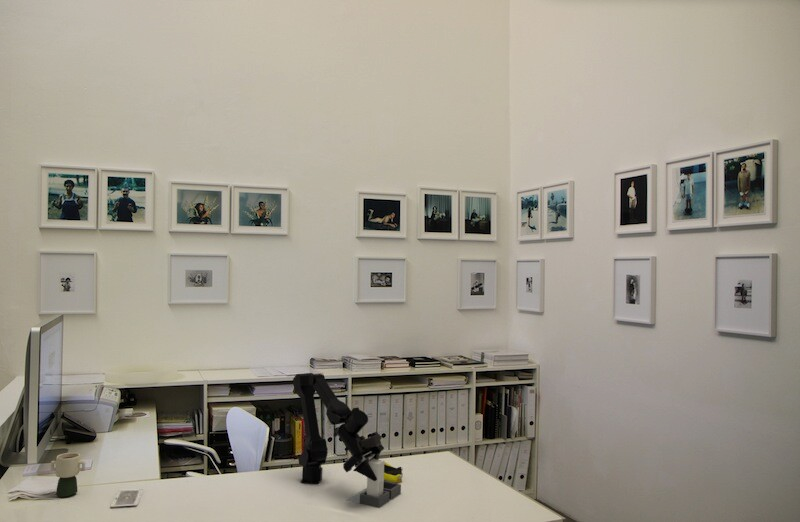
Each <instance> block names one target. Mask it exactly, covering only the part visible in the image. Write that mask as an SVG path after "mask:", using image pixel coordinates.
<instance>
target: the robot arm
mask: <svg viewBox="0 0 800 522" xmlns="http://www.w3.org/2000/svg"><path fill="white" fill-rule="evenodd" d="M292 385H293V388H294V392H295V394H297V396H298V398H300V402H301V403H300V404H301V409H302V410H301V411H302V412H301V413H302V416H303V417H302V419H303V424H304V432H305V440H304V443H303V445H302V453H301V454H300V455H299V457H298V458H297V460H298V465H300V466H302V471H301V472H302V473H301V474H302V475H301V477H302V478H301V480H300V484H301V483H302V484H311V485H312V484H313V485H318V484H319V483H320V481H322V479H323V467H322V465H323V464H326V461H327V457H328V453H329V452H328V450H329V449H328V446H327V439H325V438H323V437H322V436H321V434H320V428H319V424H318V423H319V421H318V416H317V415H318V414H317V410H316V403H315V397H314V396H315V393H316V394H317V395H318V397H319V399H320V400H321V402H322V403H323V405H324V407H325V408H326V412H325V414H326V416H327V417H326V418H327V420H328V421H329V423H330V424H331V425H332V426H333V425H334V426H335V425H339V426H337V427H335V428H333V438H337V437H339V439H340V440H341V442H342V443H343V445H344V446H345V447H344V451H345V452H349V453H350V454H351V456H350V457H349V458H348V459H347V460H345V462H343V464H342V466H343V467H342V469H343V470H344V471H345V472H346V473H348V472H351V471H352V469H353V468H354V467H355V468H354V469H353V472H357V473H358V474H360V475H362V476H365V477H366V478H367V477H368V478H370V479H371V480H373V481H376V480H377V478H376V476H375V474H374V472H373V471H372V469H371V467H370V465H369V461H371V460H373V459H377V460H380V459H379V457H380V455H381V453H382V451H384V450H385V448H384V446H383V445H382V436H381V434H380V433H379V432H378V431H373V432H372V433H370V436H369V437H367V438H366V437H365V436H364V435H360V434H359V433H360V432H361V430H362V429H363V428H364V427H365V426H366V425H367V424H368V422H369V417H368V414H366V413H365V412H364V411H362V410H361V409H360V408H359V406H358V407H353V408H352V409H350V407H349V406H348V405H347V404H346V403H345V402H343V401H342V400H339V398H338V397H337V396H336V394H335V392H334V391H333V389H332V388H331V386H330V385H329V384H328V381H327V380H326V378H325V375H324V374H323V373H314V372H307V373H306V372H305V373H297V374H295V376H294V377H293V378H292Z"/></svg>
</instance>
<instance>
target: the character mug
mask: <svg viewBox="0 0 800 522" xmlns="http://www.w3.org/2000/svg"><path fill="white" fill-rule="evenodd" d="M85 470H86V461H84V460H81V454H80V453H79V452H65V453H60V454H58V455H57V456H56V458H55V460H51V462H50V471H52V472H55V476H56V477H57V478H58V480H57V485H56V491H55V495H56V496H58V497H62V498H64V497H69V496H72V495H74V494H77V493H78V482H77V475H79V474H80V472H85Z"/></svg>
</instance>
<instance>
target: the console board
mask: <svg viewBox="0 0 800 522" xmlns="http://www.w3.org/2000/svg"><path fill="white" fill-rule="evenodd" d="M401 494H402V484H400V483H398V484H396V483H391V482H386V481H384V484H383V495H381V496H380V497H374V496H370V495H367V487H366V488H364V489H362V490H361V491H359V492H357V493H356V494H353V495H352V496H351V497H349V498H347V499H345V501H346V502H350V503H355V504H359V505H364V506H368V507H371V508H378V509H380V508H382V507H384V506H385V505H386V504H388V503H390V502H391V501H392V500H394V499H395V498H396V497H398V496H399V495H401Z"/></svg>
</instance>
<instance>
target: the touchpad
mask: <svg viewBox="0 0 800 522" xmlns="http://www.w3.org/2000/svg"><path fill="white" fill-rule="evenodd" d="M143 491H144V488H137V489H135V488H134V489H119V490H117V492H116V494H115V497H114V498H113V500H112V502H111V505H110V507H111V508H114V507H115V508H116V507H128V506H138V505H139V502H140V499H141V496H142V495H143V494H142V493H143Z"/></svg>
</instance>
